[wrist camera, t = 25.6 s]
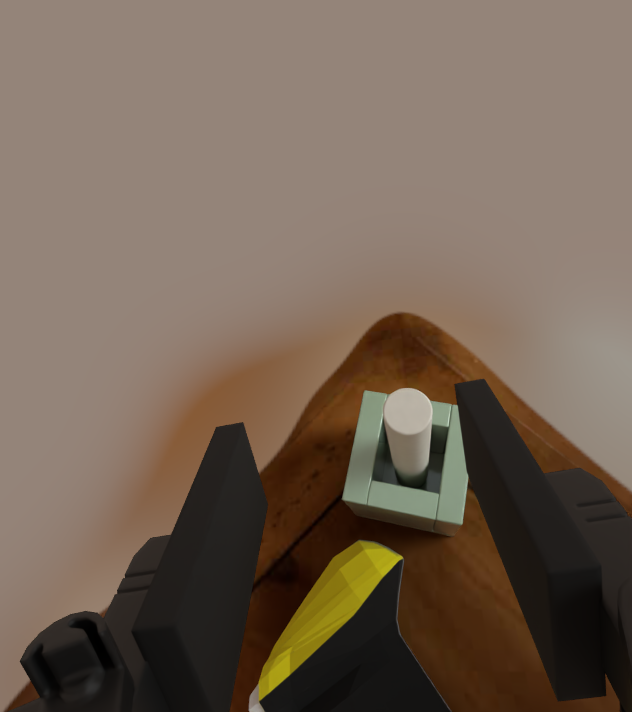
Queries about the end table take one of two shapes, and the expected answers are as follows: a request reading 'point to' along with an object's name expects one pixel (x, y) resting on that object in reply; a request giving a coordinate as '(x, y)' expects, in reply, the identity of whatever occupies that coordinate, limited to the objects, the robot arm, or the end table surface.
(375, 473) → the pen holder
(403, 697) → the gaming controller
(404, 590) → the end table surface
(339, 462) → the end table surface
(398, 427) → the white peg
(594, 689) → the robot arm
